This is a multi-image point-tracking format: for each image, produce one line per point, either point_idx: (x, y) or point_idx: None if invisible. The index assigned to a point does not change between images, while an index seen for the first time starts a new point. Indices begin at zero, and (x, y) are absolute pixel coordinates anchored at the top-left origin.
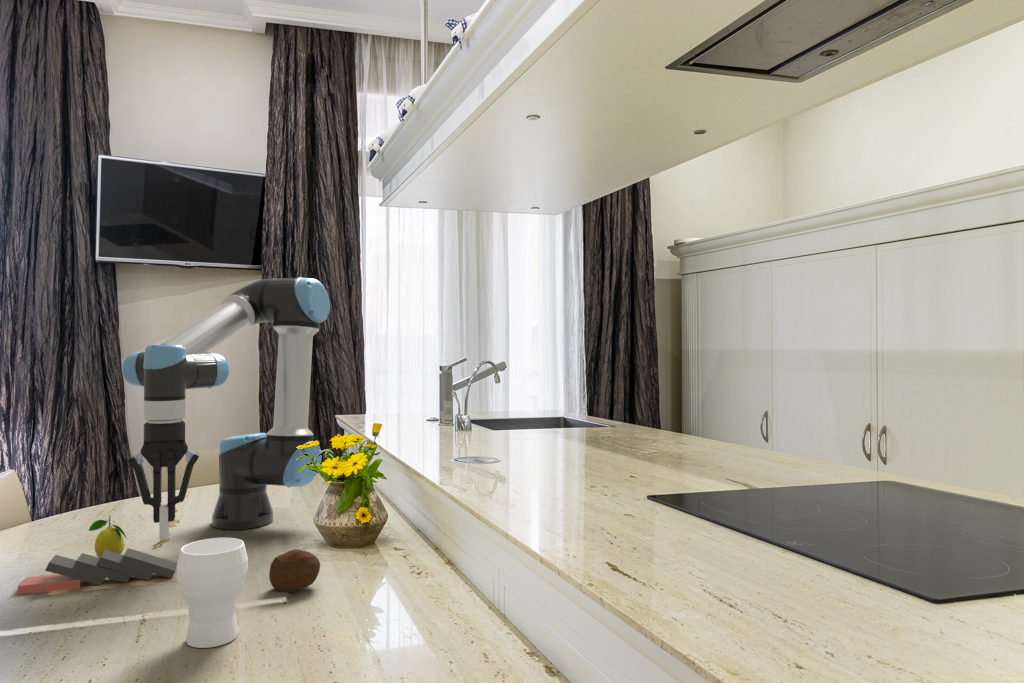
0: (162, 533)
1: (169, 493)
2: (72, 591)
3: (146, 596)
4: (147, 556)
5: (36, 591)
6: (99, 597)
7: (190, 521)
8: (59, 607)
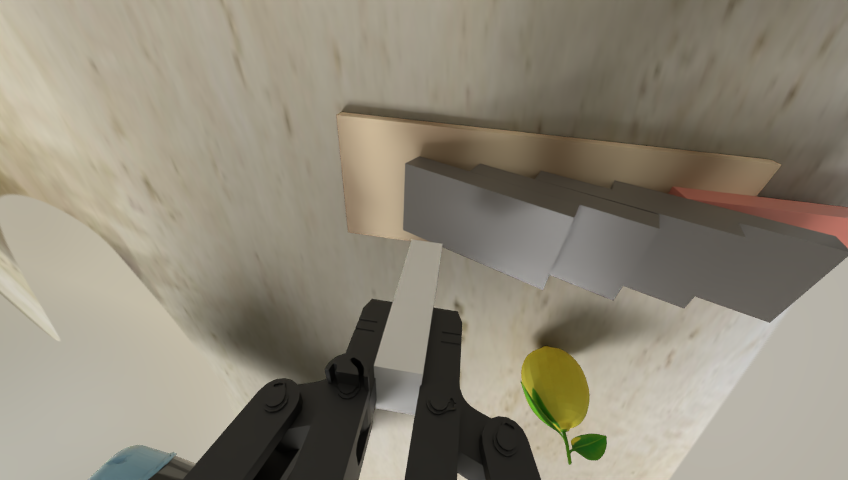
0: (427, 258)
1: (331, 471)
2: (704, 164)
3: (496, 41)
4: (483, 243)
5: (799, 203)
6: (632, 105)
7: (403, 443)
8: (783, 50)
